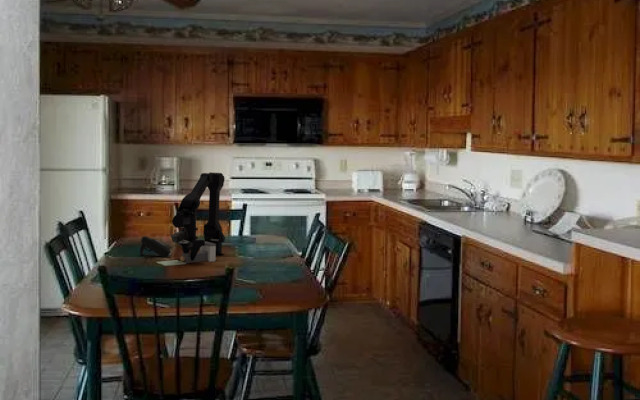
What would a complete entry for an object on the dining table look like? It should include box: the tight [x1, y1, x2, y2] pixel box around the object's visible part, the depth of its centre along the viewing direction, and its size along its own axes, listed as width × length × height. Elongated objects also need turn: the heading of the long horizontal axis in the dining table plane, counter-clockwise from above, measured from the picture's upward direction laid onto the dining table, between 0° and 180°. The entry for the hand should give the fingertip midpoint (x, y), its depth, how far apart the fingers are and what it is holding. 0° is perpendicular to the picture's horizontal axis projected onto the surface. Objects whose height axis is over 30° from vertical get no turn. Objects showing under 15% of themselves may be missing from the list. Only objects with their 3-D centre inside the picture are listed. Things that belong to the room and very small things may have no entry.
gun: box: [139, 236, 172, 259], centre depth 331 cm, size 3×16×10 cm, turn 79°
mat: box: [155, 259, 187, 267], centre depth 315 cm, size 10×9×1 cm
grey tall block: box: [179, 251, 209, 264], centre depth 322 cm, size 15×4×4 cm, turn 131°
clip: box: [199, 240, 217, 263], centre depth 326 cm, size 3×9×8 cm, turn 39°
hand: (189, 259), depth 320 cm, fingers open, 6 cm apart
